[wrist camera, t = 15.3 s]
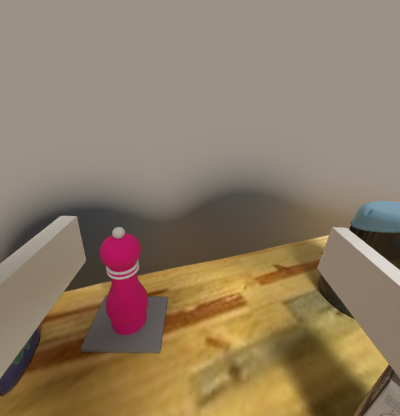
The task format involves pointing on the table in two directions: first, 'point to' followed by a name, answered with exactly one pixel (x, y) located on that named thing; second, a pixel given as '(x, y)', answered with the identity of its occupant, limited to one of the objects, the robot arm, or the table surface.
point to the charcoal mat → (134, 343)
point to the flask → (19, 365)
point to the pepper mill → (124, 282)
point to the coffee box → (382, 396)
